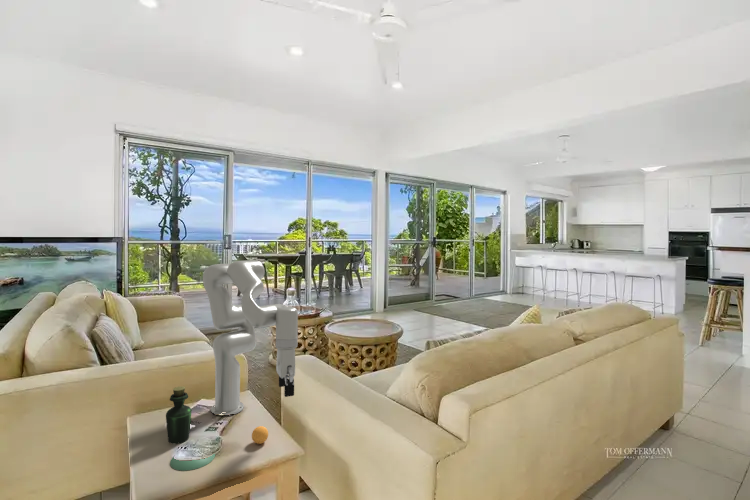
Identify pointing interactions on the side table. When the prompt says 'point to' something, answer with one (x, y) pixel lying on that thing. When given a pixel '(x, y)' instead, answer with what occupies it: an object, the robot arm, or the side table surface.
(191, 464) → the disc
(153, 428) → the side table surface
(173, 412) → the potion bottle
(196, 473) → the side table surface
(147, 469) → the side table surface
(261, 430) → the ball
